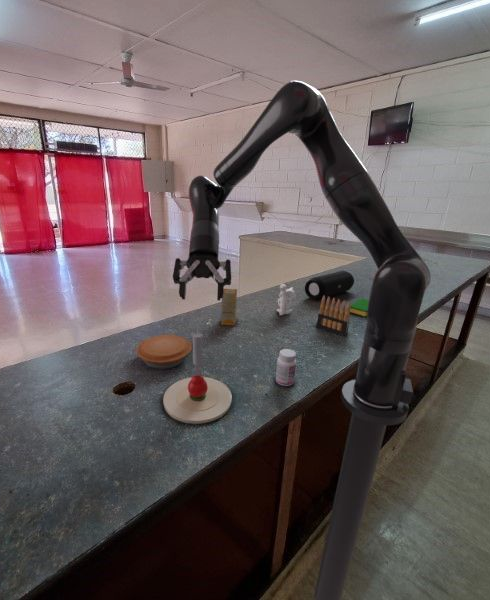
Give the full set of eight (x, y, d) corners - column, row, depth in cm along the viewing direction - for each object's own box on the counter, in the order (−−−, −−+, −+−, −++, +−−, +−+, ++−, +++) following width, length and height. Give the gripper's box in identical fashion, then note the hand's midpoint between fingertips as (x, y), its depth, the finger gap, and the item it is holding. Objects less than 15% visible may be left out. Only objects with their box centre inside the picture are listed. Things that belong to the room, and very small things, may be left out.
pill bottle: (290, 388, 79) (294, 359, 76) (272, 382, 81) (275, 354, 78) (296, 379, 83) (299, 351, 80) (279, 373, 85) (281, 346, 82)
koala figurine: (282, 318, 120) (285, 288, 115) (269, 312, 125) (272, 283, 120) (297, 313, 125) (300, 284, 120) (284, 307, 130) (287, 279, 125)
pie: (163, 381, 81) (162, 364, 79) (125, 360, 89) (124, 344, 88) (202, 356, 92) (202, 341, 90) (166, 340, 101) (165, 326, 99)
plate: (241, 389, 78) (241, 386, 78) (214, 433, 65) (214, 429, 64) (185, 373, 84) (185, 370, 84) (149, 410, 70) (149, 407, 70)
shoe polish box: (235, 320, 117) (237, 289, 113) (235, 325, 112) (236, 294, 108) (222, 319, 117) (223, 288, 113) (221, 324, 113) (221, 293, 109)
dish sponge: (347, 311, 127) (348, 306, 126) (361, 303, 137) (361, 297, 136) (365, 316, 123) (366, 311, 122) (378, 307, 132) (379, 302, 131)
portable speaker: (319, 303, 135) (323, 281, 131) (301, 297, 142) (304, 275, 138) (353, 293, 149) (357, 272, 145) (335, 287, 156) (339, 267, 153)
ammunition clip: (347, 334, 108) (353, 301, 104) (345, 335, 107) (351, 302, 103) (318, 324, 115) (322, 293, 111) (316, 326, 113) (320, 295, 109)
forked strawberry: (207, 389, 76) (207, 330, 71) (208, 402, 72) (208, 339, 66) (187, 390, 76) (186, 330, 70) (188, 403, 72) (186, 340, 66)
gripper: (175, 232, 79) (168, 291, 72) (232, 234, 79) (231, 292, 72) (178, 249, 85) (173, 304, 79) (231, 250, 85) (230, 305, 79)
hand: (201, 298), depth 75 cm, fingers open, 8 cm apart
